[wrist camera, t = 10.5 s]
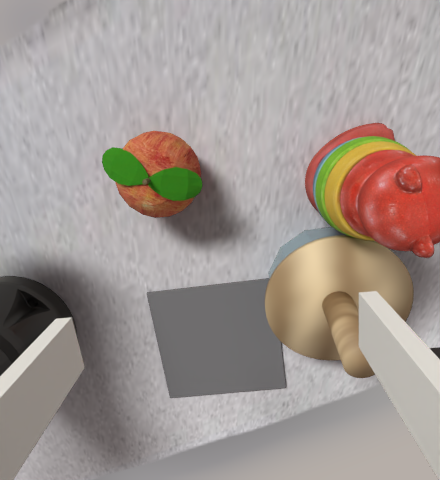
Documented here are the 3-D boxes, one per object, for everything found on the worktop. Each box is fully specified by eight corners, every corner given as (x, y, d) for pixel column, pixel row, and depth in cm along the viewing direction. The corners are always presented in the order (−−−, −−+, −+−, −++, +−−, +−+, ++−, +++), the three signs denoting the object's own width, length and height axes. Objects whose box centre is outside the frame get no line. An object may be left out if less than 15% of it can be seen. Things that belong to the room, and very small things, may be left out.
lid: (269, 358, 41) (276, 429, 32) (259, 242, 35) (264, 292, 26) (403, 351, 39) (447, 423, 31) (417, 228, 33) (476, 276, 25)
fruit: (188, 221, 42) (174, 247, 32) (114, 186, 41) (76, 202, 31) (219, 153, 39) (213, 159, 30) (141, 115, 38) (109, 108, 29)
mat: (170, 396, 49) (170, 398, 49) (147, 292, 44) (146, 293, 44) (285, 386, 47) (285, 387, 47) (273, 277, 43) (273, 278, 43)
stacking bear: (399, 215, 40) (517, 274, 23) (310, 233, 41) (361, 302, 24) (390, 118, 37) (518, 104, 20) (295, 140, 38) (341, 145, 21)
